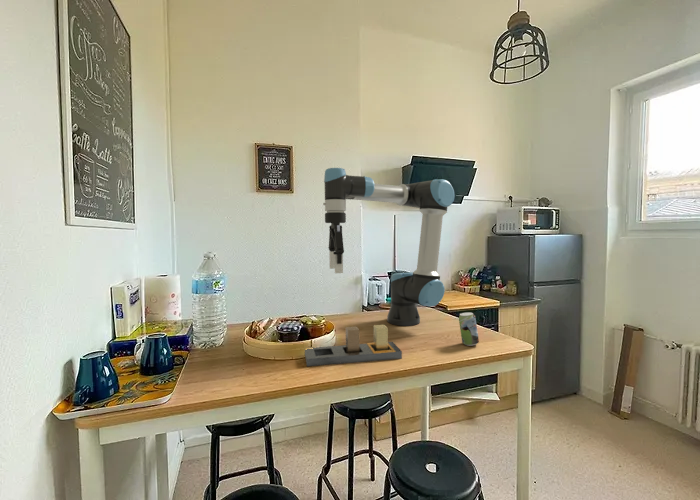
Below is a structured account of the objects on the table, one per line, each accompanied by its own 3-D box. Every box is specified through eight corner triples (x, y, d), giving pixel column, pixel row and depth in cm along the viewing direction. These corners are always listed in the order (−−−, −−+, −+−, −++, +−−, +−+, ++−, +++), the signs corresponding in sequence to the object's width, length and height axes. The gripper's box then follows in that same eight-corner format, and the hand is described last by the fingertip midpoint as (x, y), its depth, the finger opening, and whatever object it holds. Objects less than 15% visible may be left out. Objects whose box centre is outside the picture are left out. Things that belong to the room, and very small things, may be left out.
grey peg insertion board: (304, 355, 122) (304, 347, 121) (392, 348, 128) (392, 341, 127) (306, 366, 112) (306, 358, 112) (401, 358, 118) (401, 350, 118)
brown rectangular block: (345, 355, 121) (345, 327, 121) (357, 354, 122) (356, 326, 121) (347, 359, 117) (347, 330, 117) (359, 358, 118) (359, 329, 117)
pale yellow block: (373, 353, 123) (373, 325, 123) (384, 352, 124) (384, 324, 123) (376, 357, 119) (376, 328, 119) (387, 356, 120) (387, 327, 119)
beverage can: (480, 347, 127) (480, 315, 127) (459, 346, 129) (459, 314, 128) (477, 342, 134) (478, 311, 133) (457, 341, 135) (457, 310, 134)
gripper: (321, 213, 137) (321, 266, 138) (329, 210, 112) (330, 275, 114) (339, 213, 138) (340, 266, 140) (352, 210, 114) (352, 275, 115)
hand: (335, 270), depth 127 cm, fingers open, 13 cm apart
